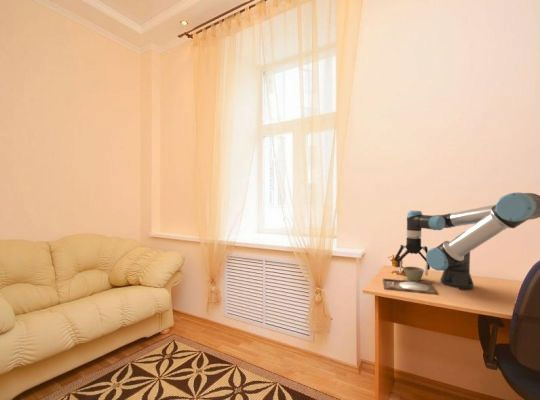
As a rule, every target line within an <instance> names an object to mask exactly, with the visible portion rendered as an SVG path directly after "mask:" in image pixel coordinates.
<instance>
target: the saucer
mask: <svg viewBox="0 0 540 400" xmlns="http://www.w3.org/2000/svg"><path fill="white" fill-rule="evenodd" d="M399 286H400V287H401V288H403V289H413V290H423V291H429V287H428V286H426V285H424V284H421V283H416V282H402V283H400V284H399Z"/></svg>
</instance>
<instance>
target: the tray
mask: <svg viewBox="0 0 540 400" xmlns="http://www.w3.org/2000/svg"><path fill="white" fill-rule="evenodd" d="M393 281H394V282H395V283H394V288H393V287H390V285H392V282H393ZM402 282H416V283H421V284H424V285H426V286H428V287H429V291H423V290H413V289H403V288H401V287H400V286H399V284H400V283H402ZM382 284H383V289H384V290H389V291H392V290H393V291H399V292H409V293H410V292H411V293H419V294H420V293H421V294H429V295H438V291H436V289H435V288H434V287H433V285H432V283H431V282H430V281H429V282H428V281H411V280H406V279H405V280H404V279H394V278H393V279H392V278H382Z"/></svg>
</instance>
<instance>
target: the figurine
mask: <svg viewBox="0 0 540 400" xmlns="http://www.w3.org/2000/svg"><path fill="white" fill-rule="evenodd" d="M395 256H396V254H391V255H390V256H388V257H387V259H390V258H392V259H390V262H391V266H393V267H394V268H399V267H398V266H397V261H395V260H394V258H395ZM400 256H401V255H399V257H400ZM399 257H398V258H399ZM401 269H402V270H401V273H399V270H392V271H391V274H392V275H396V276H397V275H399V276H406V274H405V270H404V266H403V259H402V260H401Z"/></svg>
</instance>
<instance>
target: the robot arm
mask: <svg viewBox="0 0 540 400" xmlns="http://www.w3.org/2000/svg"><path fill="white" fill-rule="evenodd" d="M406 214H407V215H406V236H407V237H406V244H405V245H404V244H400V246H399V250H398V251H397V252H396V254H395V255H396V256H395V258H394V260H395V261H397V266H398V267H397V268H398V269H399V270H398V271H399V273H401V272H402V268H401V260H402V261H403V259H404V258H405V257H406V256H408V255H409V253H410V254H411V255H412V254H415V255H417V254H419V256H420V257H422V259H423V260H424V261H425V263H424V265H425V267H424V275H425V277H426V276H428V273H429V272H428V271H430V269H431V268H432V269H433V270H435V271H440V272H442V271H443V272H442V274H441V276H440V281H439V282H440V283H441V284H442V285H445V286H447V287H450V288H456V289H459V290H468V291H469V290H473V289H474V286H475V285H474V281H473V279H472V276H471V272H470V271H471V269H470V267H471V266H470V263H471V262H470V261H471V260H470V259H471V252H472V251H473V250H475V249H477V248H478V247H480V246H481V245H483V244H484V243H486V242H488V241H489V240H491V239H492V238H495V237H496V236H498V235H499V234H500V233H502V232H503V231H505V230H506V229H515V228H517V227H519V226H520V225H522V224H523V223H525V222H526V221H529V220H530V221H531V220H535V219H538V218H540V195H539V194H537V193H533V192H511V193H507V194H505V195H503V196H501V197H500V198H499V199H498V200H497V201H496V203H495V204H492V205H486V206H482V207H476V208H471V209H467V210H461V211H456V212H451V213H446V214H437V215H429V214H428V215H427V214H423V212H422V211H421V210H408V211H407V213H406ZM468 225H472V226H470V227H469V228H467V229H465V230H464V231H463V232H461V234H459V235H457V236H456V237H454V238H453V239H452V240H445V241H443V242H442V243H441V244H439V245H437V246H436V247H432V248H430V249H428V246H426V245H425V246H422V229H427V230H433V231H442V230H443V229H450V228H455V227H460V226H468ZM404 249H406V250H405V251H404V253H402V251H403V250H404ZM421 251H425V252H424V253H425V255H424V254H423V253H422V252H421ZM399 256H400V257H399ZM398 257H399V258H398Z"/></svg>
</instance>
